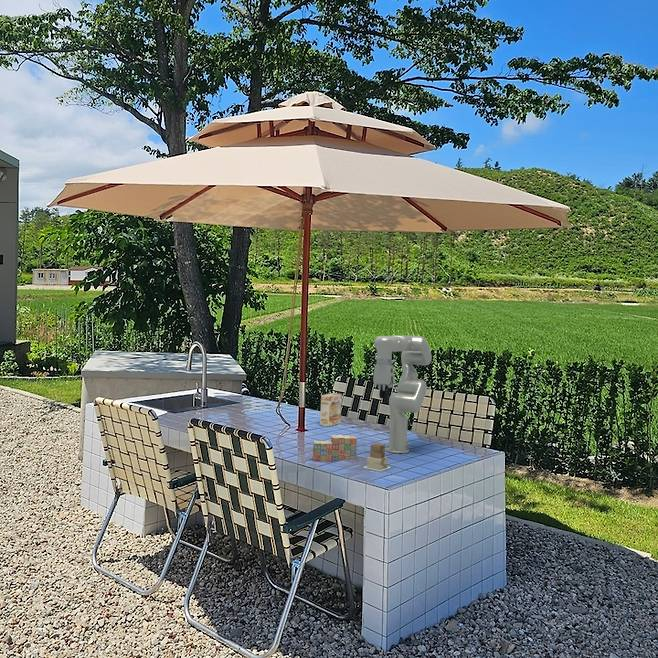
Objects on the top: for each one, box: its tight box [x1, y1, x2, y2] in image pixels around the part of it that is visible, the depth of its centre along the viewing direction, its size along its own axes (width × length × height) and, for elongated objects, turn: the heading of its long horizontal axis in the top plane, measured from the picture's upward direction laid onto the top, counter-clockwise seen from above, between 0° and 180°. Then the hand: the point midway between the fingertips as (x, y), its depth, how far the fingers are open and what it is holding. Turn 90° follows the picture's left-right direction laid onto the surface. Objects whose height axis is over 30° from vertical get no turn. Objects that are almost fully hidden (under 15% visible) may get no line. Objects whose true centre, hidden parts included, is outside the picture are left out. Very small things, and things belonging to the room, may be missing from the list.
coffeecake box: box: [319, 392, 343, 427], centre depth 440 cm, size 15×7×20 cm, turn 148°
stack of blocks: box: [312, 434, 358, 462], centre depth 349 cm, size 21×6×12 cm, turn 96°
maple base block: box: [366, 456, 388, 470], centre depth 333 cm, size 7×7×5 cm
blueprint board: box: [356, 463, 398, 474], centre depth 333 cm, size 14×14×1 cm
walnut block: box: [370, 442, 386, 459], centre depth 332 cm, size 5×5×6 cm
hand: (382, 398), depth 350 cm, fingers closed
